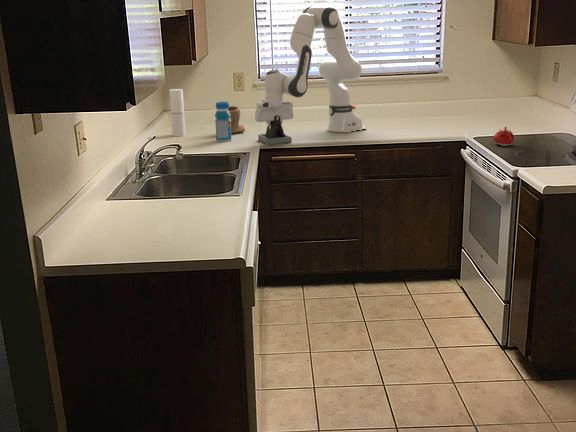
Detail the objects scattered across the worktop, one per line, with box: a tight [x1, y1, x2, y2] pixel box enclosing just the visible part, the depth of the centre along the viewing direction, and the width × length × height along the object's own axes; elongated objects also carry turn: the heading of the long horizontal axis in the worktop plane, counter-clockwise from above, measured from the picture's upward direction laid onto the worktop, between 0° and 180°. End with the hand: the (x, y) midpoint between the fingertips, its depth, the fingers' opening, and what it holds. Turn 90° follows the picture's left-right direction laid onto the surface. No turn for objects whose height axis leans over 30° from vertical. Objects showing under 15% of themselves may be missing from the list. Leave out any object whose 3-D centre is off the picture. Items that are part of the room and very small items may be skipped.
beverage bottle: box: [214, 101, 233, 143], centre depth 336 cm, size 8×8×20 cm
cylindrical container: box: [169, 88, 187, 137], centre depth 351 cm, size 7×7×25 cm
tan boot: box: [228, 105, 246, 134], centre depth 356 cm, size 15×12×15 cm
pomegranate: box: [492, 126, 515, 144], centre depth 316 cm, size 10×10×9 cm
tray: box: [257, 133, 292, 146], centre depth 334 cm, size 13×14×3 cm
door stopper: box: [264, 115, 286, 139], centre depth 332 cm, size 9×6×12 cm, turn 130°
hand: (274, 129), depth 333 cm, fingers closed on door stopper, 3 cm apart
